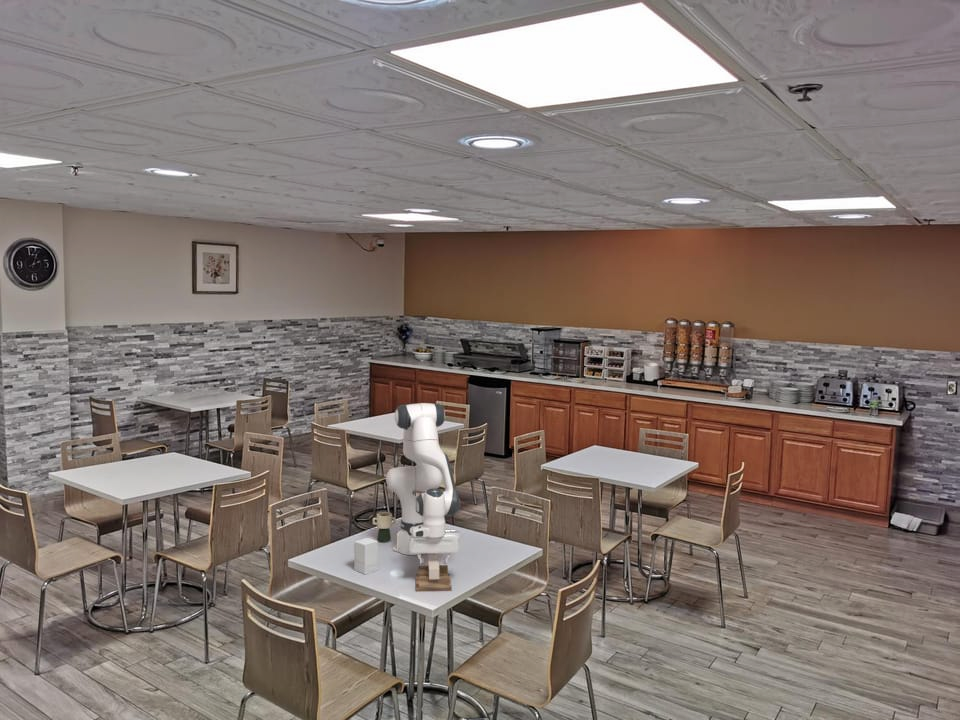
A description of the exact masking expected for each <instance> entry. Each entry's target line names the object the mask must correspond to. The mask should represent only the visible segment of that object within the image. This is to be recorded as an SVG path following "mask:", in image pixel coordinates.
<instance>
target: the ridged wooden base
mask: <svg viewBox="0 0 960 720" xmlns="http://www.w3.org/2000/svg"><path fill="white" fill-rule="evenodd" d="M448 566H449V565H447V564H443V565H440V564H439V579H429V571H428V564H427V565H418V573H416V574H415V591H416V592H448V591H449V592H452V591H453V589H452V581H451V580H452V579H451V574H450V573H449V572H448V571H449V567H448Z"/></svg>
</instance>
